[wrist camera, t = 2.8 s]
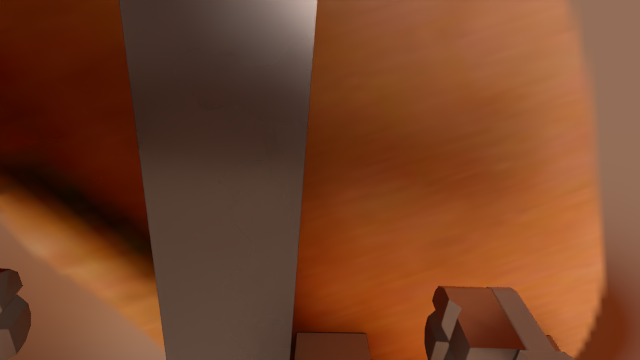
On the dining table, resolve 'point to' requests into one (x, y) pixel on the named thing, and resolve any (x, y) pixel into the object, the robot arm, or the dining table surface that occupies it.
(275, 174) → the rail
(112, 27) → the dining table surface
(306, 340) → the slab with twin posts
